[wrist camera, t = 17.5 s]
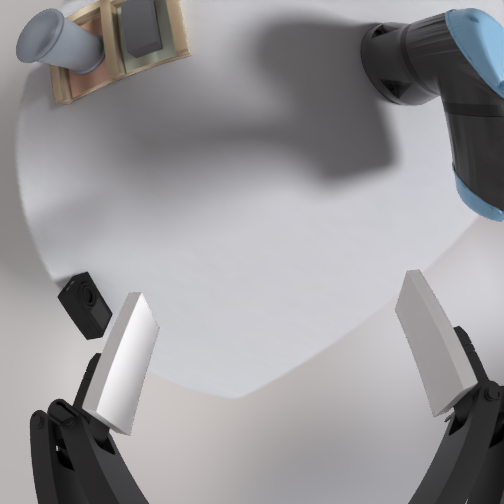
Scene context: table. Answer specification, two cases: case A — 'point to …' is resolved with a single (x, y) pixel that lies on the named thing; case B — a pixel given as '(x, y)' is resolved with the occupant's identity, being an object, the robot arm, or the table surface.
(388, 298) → the table surface
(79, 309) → the digital camera
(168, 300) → the table surface
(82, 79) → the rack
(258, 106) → the table surface
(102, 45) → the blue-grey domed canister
